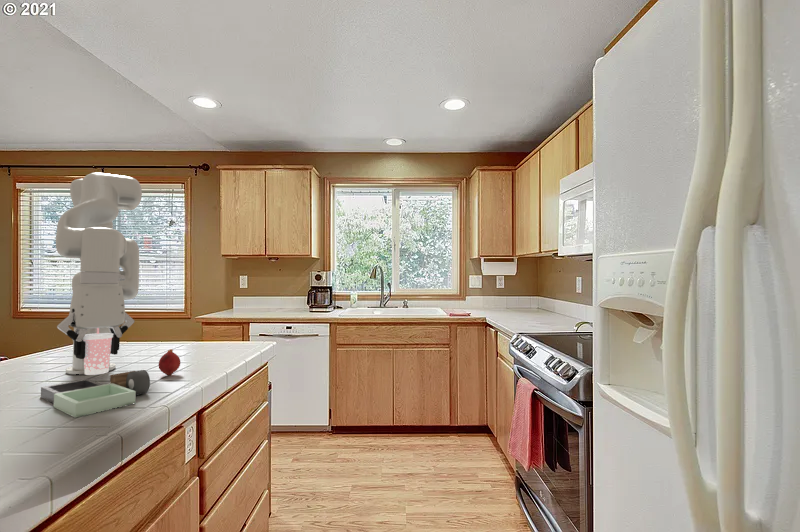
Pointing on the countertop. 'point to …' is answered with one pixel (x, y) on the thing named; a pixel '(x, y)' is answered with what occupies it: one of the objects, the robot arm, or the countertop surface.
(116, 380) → the block
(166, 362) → the onion
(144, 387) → the caster wheel
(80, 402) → the tray
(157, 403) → the countertop surface
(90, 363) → the beverage cup
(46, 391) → the socket ring
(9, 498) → the countertop surface
